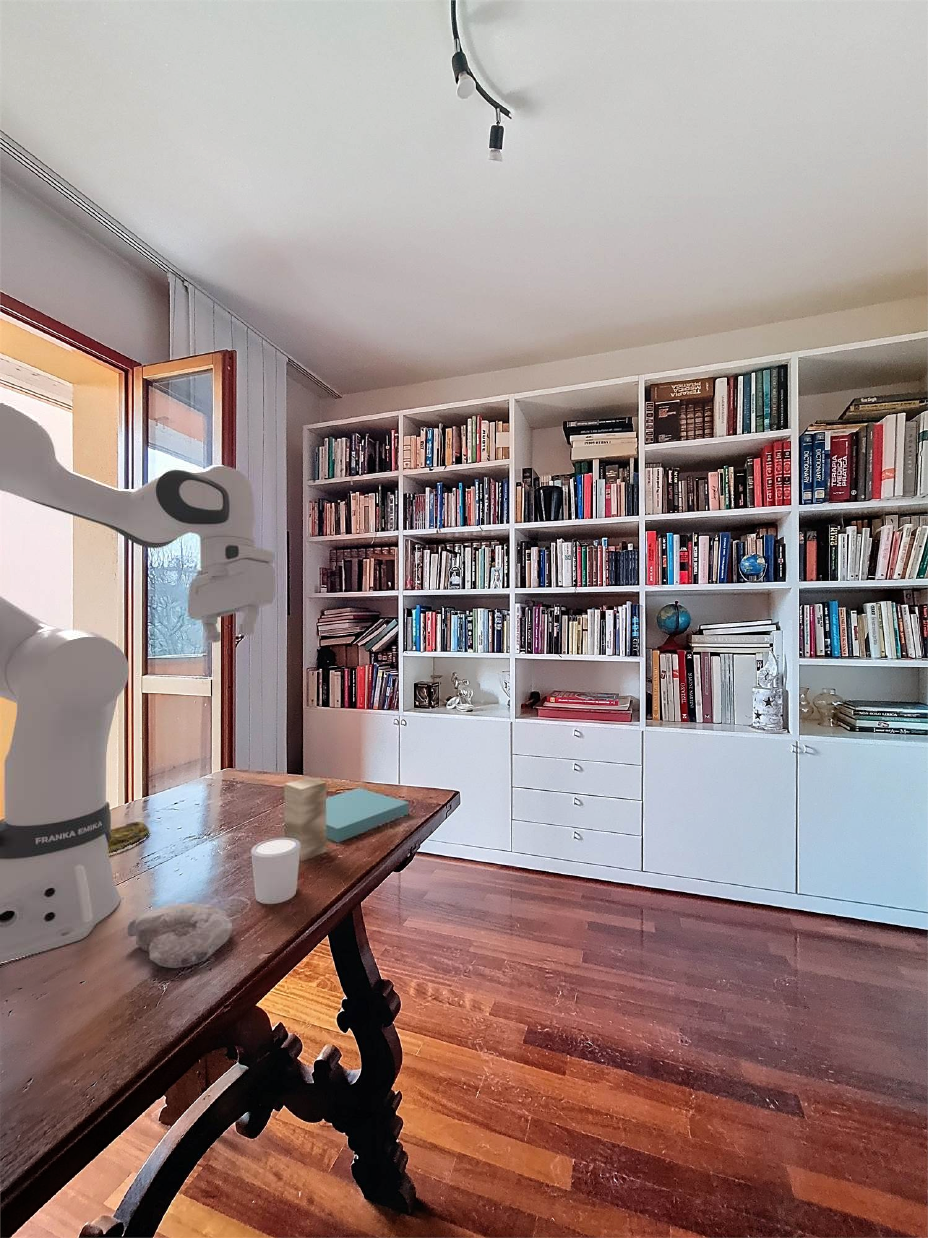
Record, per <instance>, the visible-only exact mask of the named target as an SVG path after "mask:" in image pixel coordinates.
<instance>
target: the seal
mask: <svg viewBox="0 0 928 1238" xmlns="http://www.w3.org/2000/svg"><path fill="white" fill-rule="evenodd" d="M149 832H150V829H149V828H148V826H147V825H146V824H145V823H144V822H141V821H134V822H133V821H132V822H131V823H130V822H129V823H126V824H125V825H123V826H119V827H116V828H115V827H114V828H111V833H110V841H109V842H108V850H109V854H110V853H113V852H117V851H118V850H121V849H124V848H125V847H127V846H129V845H133V844H135V843H137V842H139V841H140V840H142V839H144V838H145V837H146V836H148V834H149ZM149 835H150V834H149ZM148 837H149V836H148Z"/></svg>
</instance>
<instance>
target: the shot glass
mask: <svg viewBox="0 0 928 1238" xmlns="http://www.w3.org/2000/svg"><path fill="white" fill-rule="evenodd" d="M300 844H301V843H300V842H299V841H298V840H296V839H293V838H285V837H276V838H271V839H265V840H263V841H261V842H258V843H256V844H255V845H254V846H252V848H251V850H250V855H251V864H252V873H253V874H252V875H253V883H254V892H255V895H254V896H255V899H256V901H257V902H259V903H261V904H264V905H265V904H266V905H272V904H273V905H275V904H279V903H283V902H286V901H288V900H290V899H292V898H293V897H294V896H295V895H296V893H297V889H298V877H299V866H300V861H299V855H300Z"/></svg>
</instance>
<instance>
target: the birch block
mask: <svg viewBox="0 0 928 1238" xmlns="http://www.w3.org/2000/svg"><path fill="white" fill-rule="evenodd" d="M283 791H284V838H293V839H296V840H298V841H299V842H300V843H301V844H300V855H299V862H304V861H306V860H309V859H311V858H314V857H316V856H319V855H321V854H324V853H326V852H327V838H326V798H327V782H326V781H323V780H320V779H316V778H313V777H305V778H301V779H298V780H294V781H289V782H286V783H284V790H283Z"/></svg>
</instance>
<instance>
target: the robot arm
mask: <svg viewBox="0 0 928 1238" xmlns="http://www.w3.org/2000/svg"><path fill="white" fill-rule="evenodd" d="M251 485H252V484H251V483H250V480H249V479H248V477H247V476H246V474H244V473H243V472H241V471H240V470H238V469H236V468H234V467H230V466H227V465H226V466H225V465H220V464H219V465H217V464H215V465H211V466H208V467H207V468H204V469H200V470H187V469H183V468H182V469H180V468H177V469H169V470H168V471H164V473H162V474H159V475H158V476H156V477H154V478H153V479H151V480H150V481H148V482H147V483H145V484H144V485H142V486H140V487H137V488H133V489H119V488H115V487H112V486H110V485H107V484H105V483H102V482H99V481H96V480H95V479H92V478H90V477H87V476H84V475H81V474H78V473H76V472H73V471H72V470H69V469H68V468H66V467H65V466H63V465H62V464H61V463H60V462H59V461H58V460H57V457H56V450H55V446H54V442H53V440H52V438H51V436H50V434H49V432H48V431H47V429H46V428H45V427H44V426H43V424H42V423H41V422H40V421H39V420H38V419H37V418H35V417H34V416H33V415H31V414H30V413H27V412H25V411H24V410H21V409H19V408H18V407H16V406H14V405H12V404H10V403H8V402H5V401H2V400H0V491H2V492H5V493H9V494H12V495H14V496H17V497H19V498H21V499H22V498H23V499H26V500H28V501H30V502H33V503H35V504H39V505H41V506H43V507H47V508H49V509H53V510H56V511H60V512H62V513H65V514H69V515H72V516H75V517H77V518H81V519H84V520H86V521H89V522H93V523H96V524H100V525H102V526H105V527H107V528H109V529H111V530H113V531H115V532H117V533H118V534H120V536H121V535H122V536H123V537H124V538H126V539H127V540H128V541H130V542H133V543H134V544H136V545H138V546H141V547H144V548H149V549H158V548H159V549H160V548H164V547H166V546H169V545H170V544H172V543H173V542H175V541H176V540H178V538H180V537H182V536H185V535H187V534H189V533H191V534H194V535H195V534H196V535H197V536H199V540H200V541H199V542H200V543H199V544H200V545H199V546H200V547H199V549H200V550H199V551H200V554H199V555H200V556H199V557H200V569H199V570H197V572H196V573H197V574H196V575H195V576H194V578H193V579H192V580H191V581H190V584H189V589H188V597H187V598H188V602H187V615H188V617H189V618H190V619H191V620H196V621H201V625H202V627H203V629H204V631H205V633H206V636H205V639H206V642H207V643H209V644H210V643H212V644H213V643H214V644H215V643H219V642H220V641H221V639H222V638H221V636H222V632H221V631H219V630H218V627H217V625H216V624H218V618H221V617H225V616H229V615H233V614H236V613H242V614H244V615H243V618H242V623H240V624H239V625H238V626H239V627H238V628H239V634H240V636H252V635H254V634H255V624H256V620H257V619H258V616H259V612H260V611H259V609H260V608H259V607H264V606H268V605H272V603H273V601H274V599H275V597H276V572H275V567H274V566H273V564H274V563H275V559H276V558H275V552H274V551H272V550H270V549H269V550H268V549H265V548H261V547H257V546H256V541H255V537H254V534H253V533H254V526H255V522H256V521H255V517H256V516H255V514H256V513H255V501H254V493H253V489H252V486H251ZM127 659H128V658H127V657H126V655H125V653H124V652H123V651H122V649H121V648H120V647H119V646H117V644H115V643H114V642H112V641H111V640H110V639H108V638H105V637H104V636H103V635H101V634H98V633H95V632H93V631H89V630H83V629H61V628H58V627H55V626H51V625H49V624H47V623H45V622H43V621H41V620H40V619H38V618H37V617H34V616H32V614H30V613H29V612H26V611H25V610H23V609H21V608H19V607H18V606H17V605H15V604H13V603H12V602H10V601H8V600H7V599H5V598H4V597H3V596H1V595H0V698H3V699H5V700H8V701H9V702H13V703H16V714H15V715H16V716H15V722H14V726H13V727H14V728H13V732H12V736H11V741H10V745H9V749H8V752H7V755H6V756H5V759H4V762H3V763H4V764H3V766H4V768H3V769H4V776H3V777H4V787H3V788H4V790H3V791H4V796H3V797H4V798H3V799H4V802H3V804H4V807H3V808H4V815H3V816H4V818H3V819H1V820H0V963H1V962H5V961H9V960H11V959H16V958H20V957H23V956H27V955H30V956H32V955H31V954H33V955H36V954H39V952H40V953H42V951H43V952H45V951H48V950H49V951H50V950H53V949H56V948H59V947H62V946H65V945H68V944H72V943H74V942H78V941H80V940H82V939H84V938H86V937H87V936H88V935H89V934H90V933H91V932H92V930H93V929H94V927H95V926H96V925H97V924H98V923H99V922H101V921H102V920H104V919H105V918H106V917H108V916H109V915H110V914H112V912H113V911H114V910H115V909H116V908H117V907H118V905H119V903H120V902H121V896H120V894H119V893H120V892H119V891H118V888H117V885H116V883H115V879H114V878H115V877H114V875H113V869H112V865H111V859H110V857H109V850H108V842H109V841H110V833H111V830H112V816H111V815H112V814H111V810H110V803H109V802H108V801H107V750H108V742H109V738H110V732H111V728H112V723H113V720H114V715H115V710H116V706H117V701H118V697H119V696H120V695H121V694H122V692H123V691H124V690H125V687H126V685H127V682H128V680H129V673H130V669H129V661H128V660H127ZM52 948H53V949H52ZM35 953H36V954H35ZM27 957H28V956H27ZM20 959H21V958H20Z"/></svg>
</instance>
